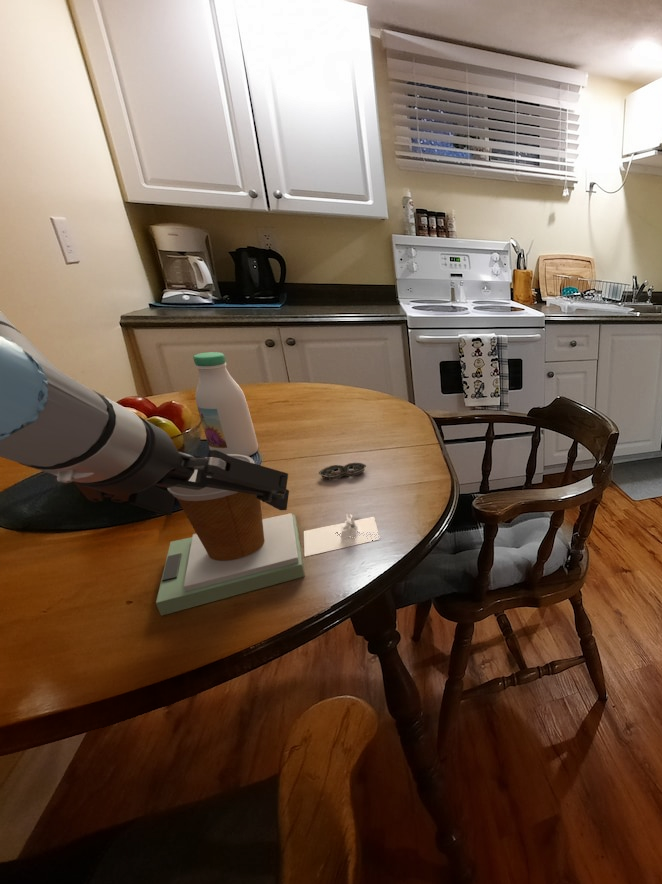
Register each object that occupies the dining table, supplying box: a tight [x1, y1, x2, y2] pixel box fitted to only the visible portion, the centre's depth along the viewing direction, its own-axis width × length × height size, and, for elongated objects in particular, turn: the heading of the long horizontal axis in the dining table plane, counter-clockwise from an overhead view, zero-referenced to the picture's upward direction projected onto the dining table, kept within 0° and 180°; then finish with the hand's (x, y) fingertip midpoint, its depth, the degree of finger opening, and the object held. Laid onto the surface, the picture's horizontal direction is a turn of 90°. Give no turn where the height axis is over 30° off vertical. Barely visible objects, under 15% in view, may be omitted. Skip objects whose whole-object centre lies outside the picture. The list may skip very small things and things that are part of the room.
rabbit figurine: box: [340, 513, 359, 540], centre depth 75 cm, size 3×3×3 cm
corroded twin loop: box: [318, 462, 367, 481], centre depth 92 cm, size 5×8×1 cm, turn 116°
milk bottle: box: [192, 351, 259, 457], centre depth 94 cm, size 8×8×20 cm
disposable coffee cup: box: [166, 454, 265, 561], centre depth 64 cm, size 10×10×12 cm
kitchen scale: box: [155, 512, 306, 617], centre depth 67 cm, size 14×15×3 cm
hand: (228, 502), depth 65 cm, fingers open, 13 cm apart
